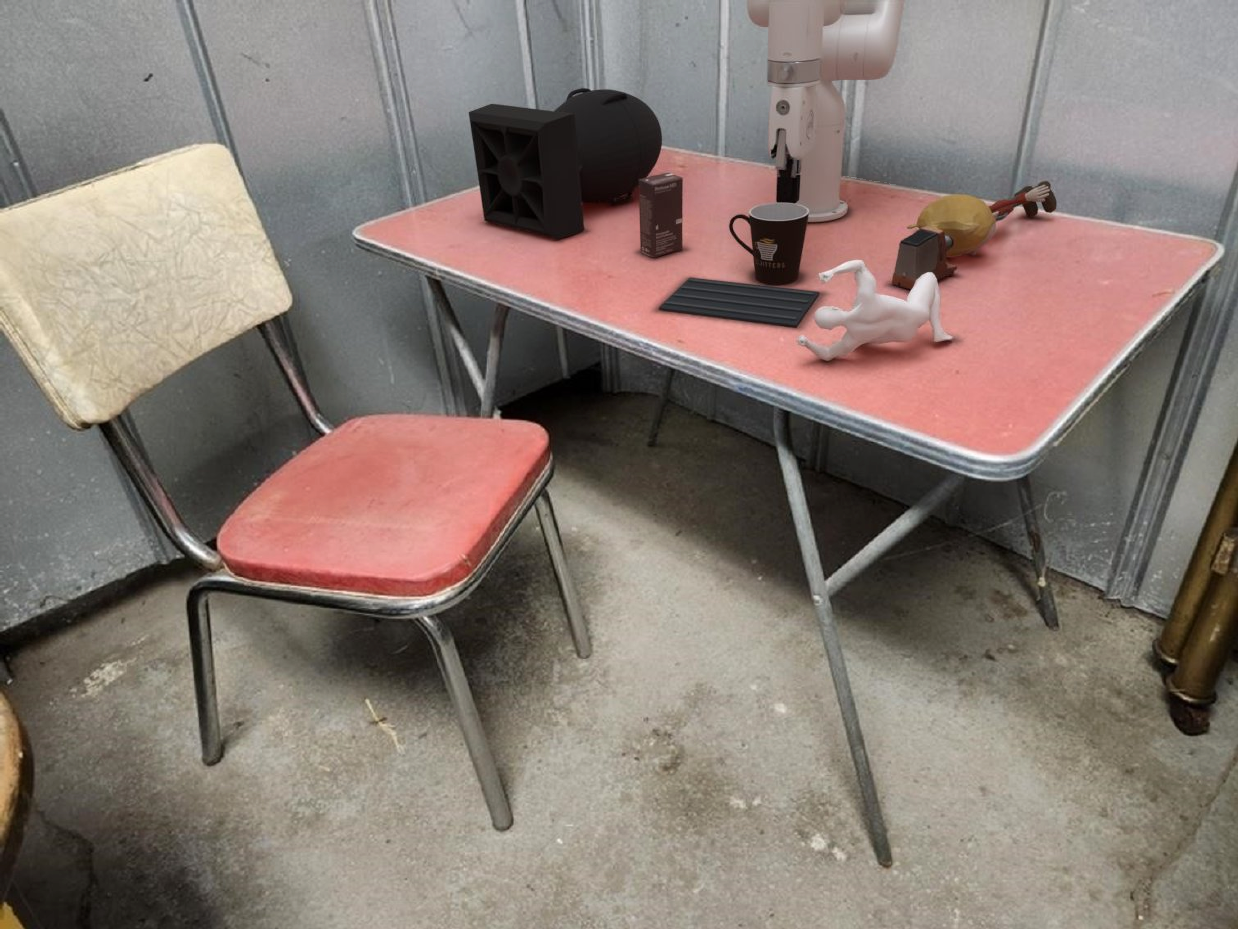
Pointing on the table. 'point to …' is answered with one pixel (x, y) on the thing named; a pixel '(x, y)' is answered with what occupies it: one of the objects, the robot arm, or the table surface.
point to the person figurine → (877, 313)
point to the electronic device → (922, 257)
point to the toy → (980, 216)
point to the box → (660, 214)
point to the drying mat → (741, 301)
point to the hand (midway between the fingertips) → (787, 201)
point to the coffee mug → (775, 240)
